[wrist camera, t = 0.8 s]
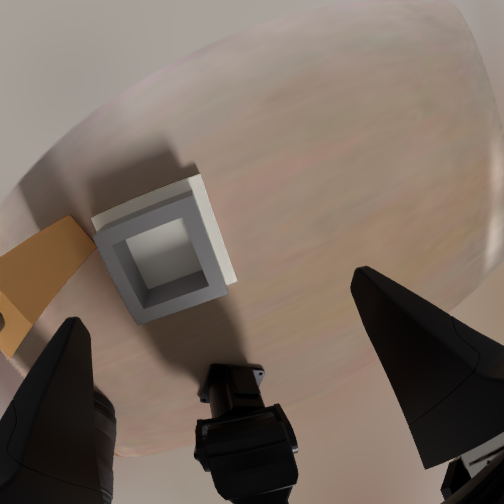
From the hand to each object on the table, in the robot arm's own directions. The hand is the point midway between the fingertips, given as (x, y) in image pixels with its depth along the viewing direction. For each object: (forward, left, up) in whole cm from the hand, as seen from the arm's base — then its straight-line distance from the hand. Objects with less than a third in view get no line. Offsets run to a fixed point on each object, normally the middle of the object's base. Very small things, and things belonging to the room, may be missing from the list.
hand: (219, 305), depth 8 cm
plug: (-6, +11, -16) cm, 21 cm away
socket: (-4, +2, -16) cm, 17 cm away
